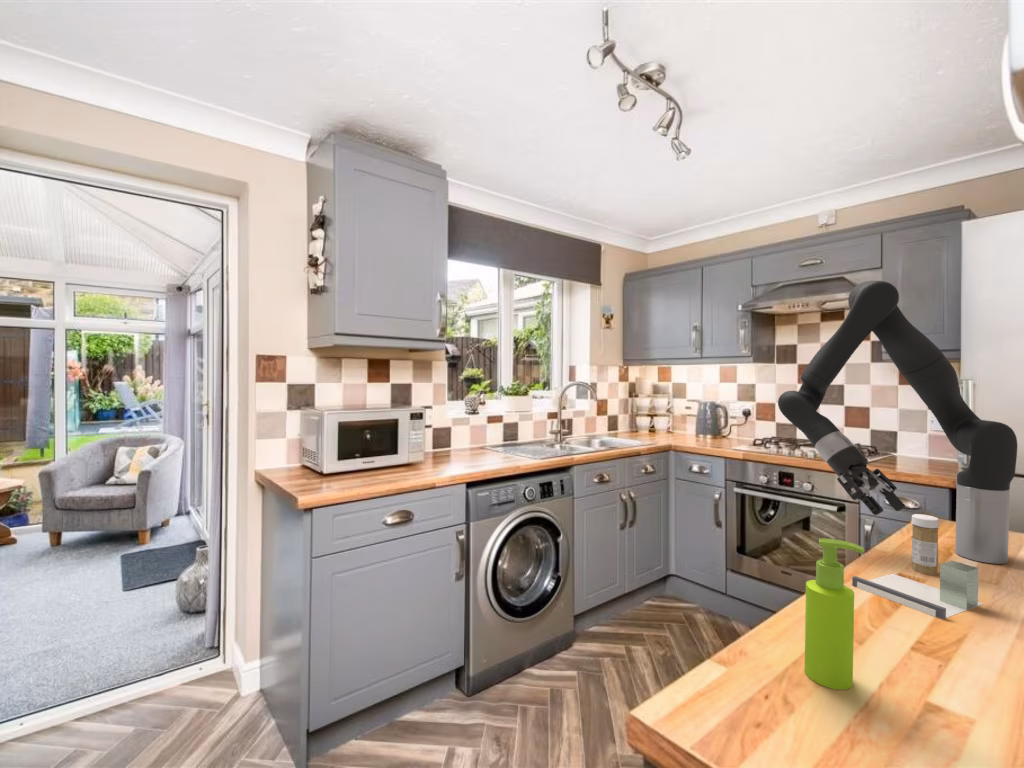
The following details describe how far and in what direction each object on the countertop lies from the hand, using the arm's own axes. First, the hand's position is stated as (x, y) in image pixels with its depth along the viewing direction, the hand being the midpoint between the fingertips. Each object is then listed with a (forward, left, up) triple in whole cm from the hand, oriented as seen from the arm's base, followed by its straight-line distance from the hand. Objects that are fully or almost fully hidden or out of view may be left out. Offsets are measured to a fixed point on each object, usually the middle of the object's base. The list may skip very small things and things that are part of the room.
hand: (890, 511), depth 112 cm
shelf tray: (+15, +12, -13) cm, 23 cm away
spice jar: (0, +7, -13) cm, 15 cm away
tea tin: (+12, +18, -11) cm, 24 cm away
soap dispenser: (+54, +21, -13) cm, 59 cm away
